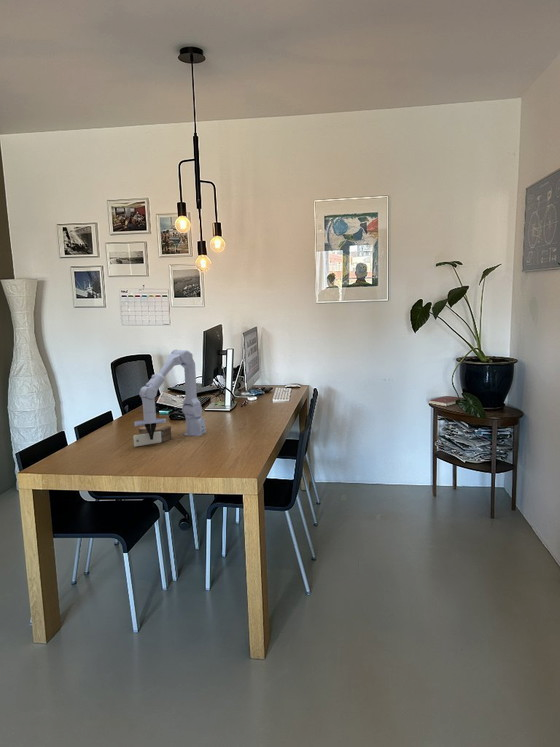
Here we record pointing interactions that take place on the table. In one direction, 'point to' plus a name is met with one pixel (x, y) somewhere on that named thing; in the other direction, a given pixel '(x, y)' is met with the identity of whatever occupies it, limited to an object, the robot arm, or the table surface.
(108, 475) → the table surface
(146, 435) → the door
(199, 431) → the robot arm
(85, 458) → the table surface
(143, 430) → the cabinet
